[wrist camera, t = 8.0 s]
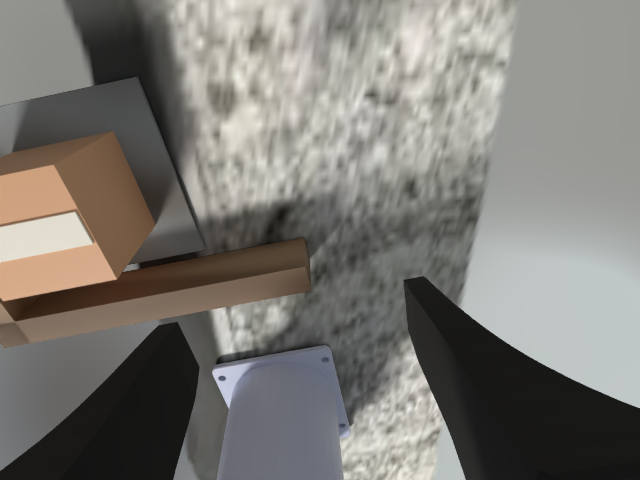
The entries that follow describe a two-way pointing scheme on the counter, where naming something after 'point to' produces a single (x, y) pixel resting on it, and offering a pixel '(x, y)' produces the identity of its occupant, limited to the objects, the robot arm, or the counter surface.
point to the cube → (68, 216)
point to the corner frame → (164, 240)
